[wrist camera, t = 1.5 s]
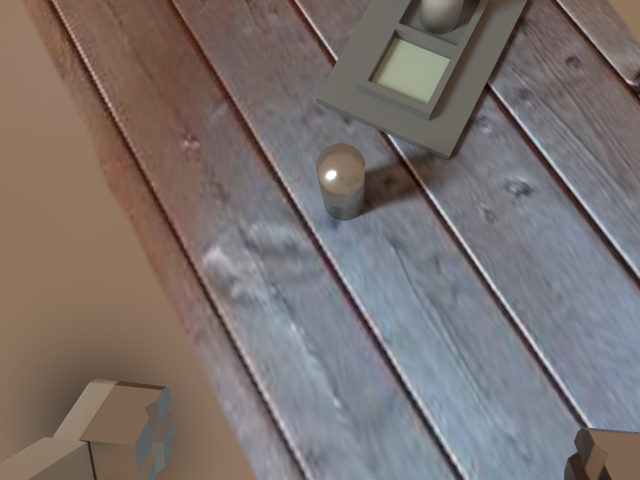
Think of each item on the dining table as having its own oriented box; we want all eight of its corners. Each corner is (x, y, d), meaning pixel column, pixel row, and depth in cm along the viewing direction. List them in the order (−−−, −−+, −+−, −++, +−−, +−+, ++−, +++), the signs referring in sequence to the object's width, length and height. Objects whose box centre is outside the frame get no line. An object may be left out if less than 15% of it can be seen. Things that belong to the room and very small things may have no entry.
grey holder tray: (528, -2, 64) (561, -78, 53) (448, 160, 60) (466, 113, 49) (401, -49, 67) (408, -130, 56) (316, 102, 63) (307, 46, 52)
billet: (371, 191, 60) (373, 155, 50) (353, 227, 59) (351, 197, 49) (335, 174, 60) (329, 136, 51) (316, 209, 60) (307, 177, 50)
